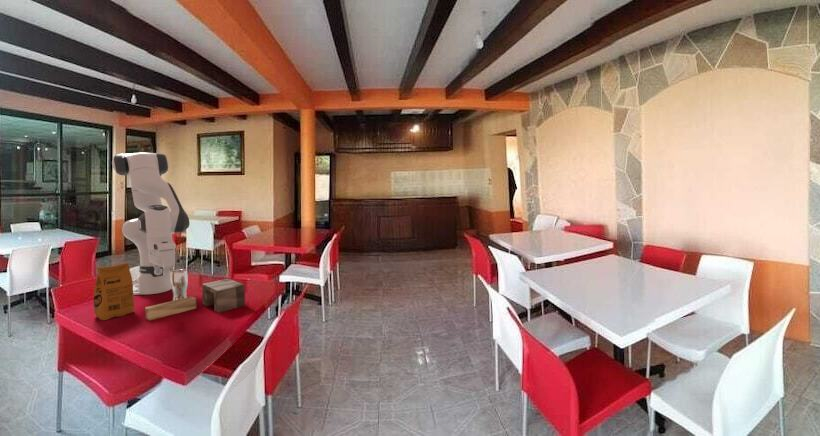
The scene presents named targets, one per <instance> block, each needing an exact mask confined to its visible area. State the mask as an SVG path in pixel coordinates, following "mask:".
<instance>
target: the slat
mask: <svg viewBox="0 0 820 436" xmlns="http://www.w3.org/2000/svg"><path fill="white" fill-rule="evenodd" d="M144 309H145V312H144V314H145V319H146V320H147V321H153V320H157V319H160V318H165V317H168V316H172V315H176V314H181V313H184V312H187V311H192V310H194V309H197V298H196V297H194V296H187V298H183V299H179V300H175V301H173V300H171V301H167V302H163V303H157V304H154V305H149V306H145V307H144Z"/></svg>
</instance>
